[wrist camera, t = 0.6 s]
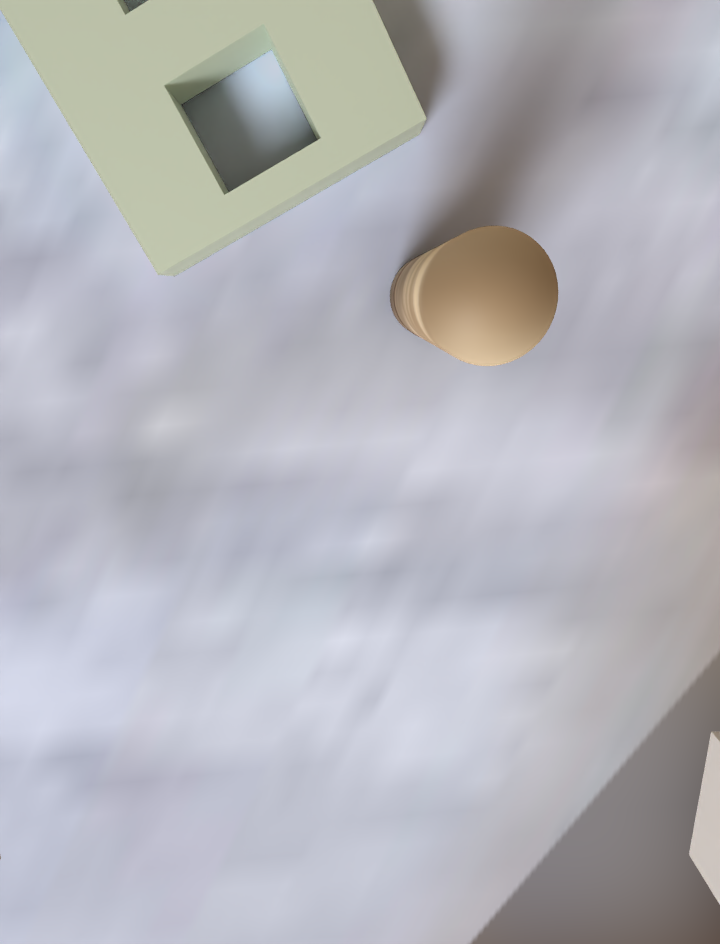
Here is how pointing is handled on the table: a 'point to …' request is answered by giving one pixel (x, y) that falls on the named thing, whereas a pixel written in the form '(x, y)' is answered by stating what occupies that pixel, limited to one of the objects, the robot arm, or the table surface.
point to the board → (196, 69)
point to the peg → (479, 295)
